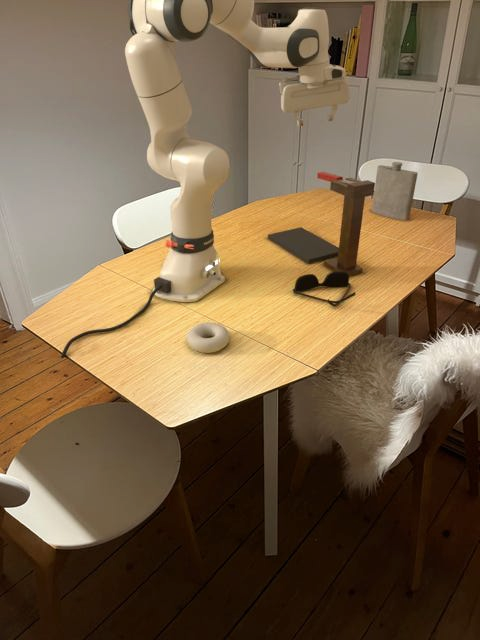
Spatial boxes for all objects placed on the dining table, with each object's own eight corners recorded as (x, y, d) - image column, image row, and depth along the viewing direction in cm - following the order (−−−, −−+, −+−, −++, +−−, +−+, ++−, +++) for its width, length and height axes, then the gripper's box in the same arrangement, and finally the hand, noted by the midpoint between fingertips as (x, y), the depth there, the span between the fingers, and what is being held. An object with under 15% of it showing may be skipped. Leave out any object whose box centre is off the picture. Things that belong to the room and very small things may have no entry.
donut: (230, 355, 106) (229, 330, 114) (229, 343, 104) (229, 318, 112) (185, 356, 106) (188, 331, 114) (184, 344, 104) (187, 319, 112)
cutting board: (267, 238, 164) (267, 234, 163) (300, 231, 169) (301, 227, 168) (308, 264, 146) (308, 259, 145) (343, 254, 151) (344, 250, 150)
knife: (316, 178, 140) (316, 172, 139) (323, 177, 141) (323, 171, 140) (358, 189, 125) (358, 183, 125) (365, 188, 126) (366, 182, 126)
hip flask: (410, 219, 178) (420, 165, 167) (405, 221, 175) (415, 167, 165) (374, 209, 188) (381, 158, 177) (368, 211, 185) (375, 160, 175)
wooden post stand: (323, 265, 145) (331, 177, 130) (341, 260, 148) (350, 174, 133) (344, 278, 137) (354, 186, 123) (362, 272, 140) (375, 182, 126)
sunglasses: (308, 316, 119) (309, 299, 117) (291, 290, 131) (292, 274, 129) (369, 309, 122) (372, 292, 120) (347, 283, 134) (349, 268, 132)
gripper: (280, 81, 133) (283, 131, 141) (351, 69, 133) (350, 120, 141) (276, 77, 138) (280, 125, 146) (345, 65, 138) (345, 115, 146)
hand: (315, 123), depth 144 cm, fingers open, 8 cm apart
